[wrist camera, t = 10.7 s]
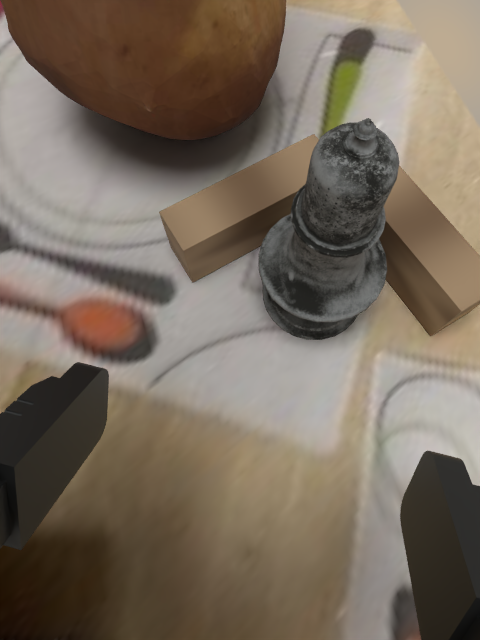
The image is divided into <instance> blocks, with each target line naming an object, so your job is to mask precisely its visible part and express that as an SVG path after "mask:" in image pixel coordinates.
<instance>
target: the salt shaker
mask: <svg viewBox="0 0 480 640" xmlns="http://www.w3.org/2000/svg"><path fill="white" fill-rule="evenodd" d="M398 169H399V157H398V153H397V151H396V149H395V146H394V144H393V143H392V141H391V140H390V139H389V138H388V137H387V135H386V134H385V133H383V132H382V131H381V130H379V129H378V128H376V126H375V125H374V123H373V122H372V121H371V119H369V118H367V119H365V120H362V121H361V122H358V123H347V124H342V125H340V126H337V127H335V128H333V129H331V130H329V131H328V132H326V133H325V134H324V135H323V136H322V137H321V138H320V139H319V141H318V142H317V144H316V146H315V147H314V149H313V151H312V155H311V159H310V164H309V169H308V174H307V180H306V184H305V185H304V186H303V187H301V188H300V189H299V191H298V192H297V194H296V195H295V197H294V199H293V203H292V206H291V214H289V215H287V216H285V217H283V218H282V219H280V220H279V221H278V222H277V223H276V224H275V225H274V226H273V227H271V229H270V230H269V232H268V233H267V235H266V236H265V238H264V239H263V242H262V245H261V248H260V252H259V273H260V276H261V279H262V283H263V300H264V303H265V307H266V310H267V312H268V313H269V315H270V316H271V318H272V320H273V321H274V322H275V323H276V324H277V325H278V326H279V327H280V328H282V329H283V330H284V331H286V332H288V333H290V334H292V335H293V336H296V337H300V338H304V339H312V340H321V339H325V338H329V337H333V336H335V335H337V334H339V333H341V332H343V331H344V330H346V329H347V328H348V327H349V326H350V325H351V324H352V323H353V322H354V320H355V319H356V317H357V315H358V314H359V313H361V312H363V311H364V310H366V309H367V308H368V307H369V306H370V305H371V304H372V303H373V302H374V301H375V300H376V299H377V297H378V295H379V294H380V292H381V290H382V288H383V286H384V284H385V279H386V273H387V262H386V254H385V252H384V249H383V247H382V244H381V242H380V240H379V238H380V236H381V234H382V232H383V230H384V226H385V221H386V217H385V209H384V204H385V202H386V200H387V198H388V196H389V194H390V192H391V190H392V188H393V186H394V184H395V182H396V180H397V175H398Z"/></svg>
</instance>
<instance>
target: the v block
mask: <svg viewBox="0 0 480 640" xmlns="http://www.w3.org/2000/svg"><path fill="white" fill-rule="evenodd" d="M318 141H319V140H318V138H317V137H316V136H315V135H314V134H313V135H311V136H309V137H307V138H305V139H303V140H301V141H299V142H297V143H295V144H293V145H291V146H289V147H287V148H285V149H283V150H281V151H279V152H277V153H275V154H273V155H271V156H269V157H267V158H265V159H263V160H261V161H259V162H257V163H255V164H253V165H251V166H249V167H247V168H245V169H243V170H241V171H239V172H237V173H235V174H233V175H231V176H229V177H227V178H225V179H223V180H221V181H219V182H217V183H215V184H214V185H212V186H210V187H208V188H206V189H204V190H202V191H200V192H198V193H196V194H194V195H192V196H190V197H188V198H186V199H184V200H182V201H180V202H178V203H176V204H174V205H172V206H170V207H168V208H166V209H164V210H162V211H160V212H159V213H160V216H161V219H162V222H163V225H164V228H165V231H166V234H167V237H168V240H169V243H170V246H171V248H172V250H173V252H174V253H175V255H176V256H177V258H178V260H179V261H180V263H181V265H182V266H183V268H184V269H185V271H186V273H187V274H188V276H189V278H190V279H191V281H192V282H195V281H197V280H198V279H200V278H202V277H204V276H206V275H208V274H210V273H211V272H213V271H215V270H217V269H219V268H221V267H223V266H224V265H226V264H228V263H230V262H232V261H234V260H236V259H237V258H239V257H241V256H243V255H245V254H247V253H248V252H250V251H252V250H254V249H256V248H258V247H260V246H261V245H262V242H263V239H264V238H265V236H266V235H267V233H268V232H269V230H270V229H271V227H273V226H274V225H275V224H276V223H277V222H278V221H279V220H280V219H282V218H283V217H285V216H287V215H289V214H291V206H292V203H293V199H294V197H295V195H296V194H297V192H298V191H299V189H300V188H301V187H303V186H304V185H305V184H306V180H307V174H308V169H309V164H310V159H311V155H312V151H313V149H314V147H315V146H316V144H317V142H318ZM384 209H385V217H386V221H385V226H384V230H383V232H382V234H381V236H380V238H379V240H380V242H381V244H382V247H383V249H384V252H385V254H386V262H387V273H386V280H387V281H388V283H389V284H390V285H391V286H392V288H393V289H394V290H395V292H396V293H397V294H398V295H399V297H400V298H401V299H402V300H403V302H404V303H405V304H406V305H407V307H408V308H409V309H410V311H411V312H412V313H413V314H414V316H415V317H416V318H417V319H418V321H419V322H420V323H421V324H422V326H423V327H424V328H425V330H426V331H427V332H428V333H429V335H430V336H432V335H434V334H435V333H437V332H438V331H440V330H442V329H443V328H445V327H446V326H448V325H450V324H451V323H453V322H454V321H456V320H458V319H459V318H461V317H463V316H464V315H466V314H467V313H469V312H470V311H472V310H473V309H474V308H475V307H477V306H478V305H479V304H480V255H479V254H478V253H477V252H476V251H475V250H474V249H473V248H472V246H471V245H470V244H469V243H468V242H467V241H466V240H465V239H464V237H463V236H462V235H461V234H460V233H459V232H458V231H457V230H456V229H455V227H454V226H453V225H452V224H451V223H450V222H449V221H448V220H447V218H446V217H445V216H444V215H443V214H442V213H441V212H440V211H439V209H438V208H437V207H436V206H435V205H434V204H433V203H432V202H431V201H430V199H429V198H428V197H427V196H426V195H425V194H424V193H423V192H422V190H421V189H420V188H419V187H418V186H417V185H416V184H415V183H414V181H413V180H412V179H411V178H410V177H409V176H408V175H407V174H406V172H405V171H404V170H403V169H402V168H401V167H400V166H399V169H398V175H397V180H396V182H395V184H394V186H393V188H392V190H391V192H390V194H389V196H388V198H387V200H386V202H385V204H384Z"/></svg>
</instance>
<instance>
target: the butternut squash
mask: <svg viewBox="0 0 480 640" xmlns="http://www.w3.org/2000/svg"><path fill="white" fill-rule="evenodd" d="M1 3H2V5H3V8H4V11H5V15H6V19H7V22H8V29H9V32H10V34H11V36H12V38H13V40H14V41H15V43H16V44H17V46H18V47H19V49H20V50H21V52H22V54H23V55H24V57H25V59H26V60H27V62H28V63H29V64H30V65H31V66H33V67H34V68H35V69H36V70H37V71H38V72H39V73H40V74H41V75H42V76H44V77H45V78H46V79H47V80H48V81H49V82H50V83H51V84H52V85H53V86H55V87H56V88H57V89H58V90H59V91H60V92H62V93H63V94H64V95H66V96H67V97H68V98H70V99H72V100H73V101H75V102H77V103H78V104H80V105H82V106H84V107H86V108H88V109H90V110H92V111H94V112H97V113H99V114H101V115H103V116H105V117H108V118H110V119H113V120H115V121H118V122H120V123H123V124H126V125H129V126H132V127H134V128H136V129H139V130H141V131H144V132H147V133H150V134H154V135H158V136H161V137H165V138H169V139H178V140H198V139H203V138H208V137H212V136H216V135H219V134H221V133H224V132H226V131H228V130H230V129H232V128H234V127H236V126H237V125H239V124H241V123H242V122H244V121H245V120H247V119H248V118H249V117H250V116H251V115H252V114H253V113H254V112H255V110H256V109H257V108H258V107H259V105H260V103H261V100H262V98H263V96H264V93H265V90H266V87H267V85H268V83H269V81H270V79H271V77H272V75H273V73H274V71H275V69H276V66H277V62H278V58H279V52H280V46H281V42H282V37H283V33H284V26H285V16H286V0H1Z"/></svg>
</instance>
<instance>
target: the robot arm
mask: <svg viewBox="0 0 480 640" xmlns="http://www.w3.org/2000/svg"><path fill="white" fill-rule="evenodd" d="M108 381H109V375H108V371H107V370H106V369H103V368H99V367H96V366H92V365H88V364H84V363H79V362H78V363H75V364H74V365H73V366H72V367H71V368H70V369H69V370H68V371H67V372H66V373H65V374H64V375H63V376H62V377H61V378H57V377H53V376H51V377H49V378H47V379H45V380H43V381H40V382H38V383H36V384H34V385H32V386H31V387H30V388H28V389H27V390H26V391H25V392H24V393H23V394H22V395H21V396H20V397H18V398H17V401H14V402H13V403H12V404H11V405H10V406H9V407H7V408H6V409H5V412H2V413H1V414H0V548H1V547H2V545H6V546H9V547H12V548H16V549H19V550H22V548H23V547H24V545H25V544H26V543H27V541H28V540H29V538H30V537H31V536H32V534H33V533H34V531H35V530H36V529H37V527H38V526H39V524H40V523H41V522H42V520H43V519H44V517H45V516H46V514H47V513H48V512H49V510H50V509H51V507H52V506H53V505H54V503H55V502H56V500H57V499H58V498H59V496H60V495H61V493H62V492H63V491H64V489H65V488H66V486H67V485H68V484H69V482H70V481H71V479H72V478H73V477H74V475H75V474H76V472H77V471H78V470H79V468H80V467H81V465H82V464H83V463H84V461H85V460H86V458H87V457H88V455H89V454H90V453H91V451H92V450H93V448H94V447H95V446H96V444H97V443H98V441H99V440H100V438H101V436H102V434H103V431H104V429H105V425H106V421H107V407H108ZM400 520H401V527H402V533H403V538H404V544H405V550H406V555H407V561H408V567H409V572H410V578H411V584H412V589H413V595H414V601H415V606H416V612H417V618H418V623H419V629H420V635H421V640H480V486H477V485H473V484H472V482H471V480H470V477H469V475H468V472H467V470H466V467H465V464H464V462H463V461H462V460H461V459H459V458H455V457H451V456H447V455H443V454H440V453H436V452H432V451H426V452H425V453H424V454H423V455H422V457H421V459H420V462H419V464H418V466H417V468H416V470H415V472H414V475H413V477H412V479H411V481H410V483H409V485H408V488H407V490H406V492H405V494H404V497H403V500H402V504H401V513H400Z"/></svg>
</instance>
